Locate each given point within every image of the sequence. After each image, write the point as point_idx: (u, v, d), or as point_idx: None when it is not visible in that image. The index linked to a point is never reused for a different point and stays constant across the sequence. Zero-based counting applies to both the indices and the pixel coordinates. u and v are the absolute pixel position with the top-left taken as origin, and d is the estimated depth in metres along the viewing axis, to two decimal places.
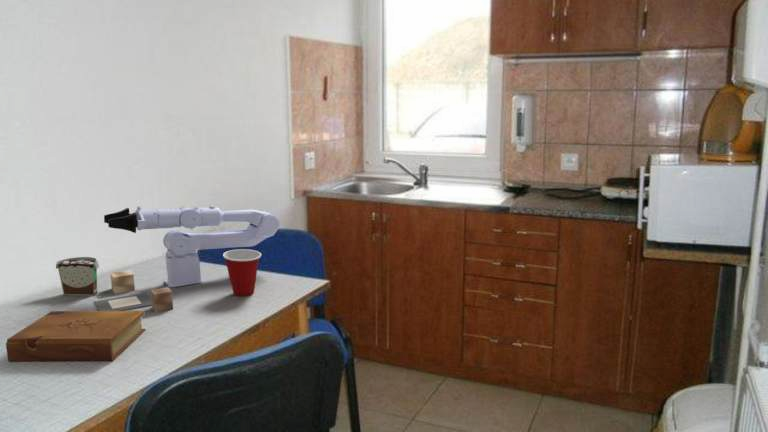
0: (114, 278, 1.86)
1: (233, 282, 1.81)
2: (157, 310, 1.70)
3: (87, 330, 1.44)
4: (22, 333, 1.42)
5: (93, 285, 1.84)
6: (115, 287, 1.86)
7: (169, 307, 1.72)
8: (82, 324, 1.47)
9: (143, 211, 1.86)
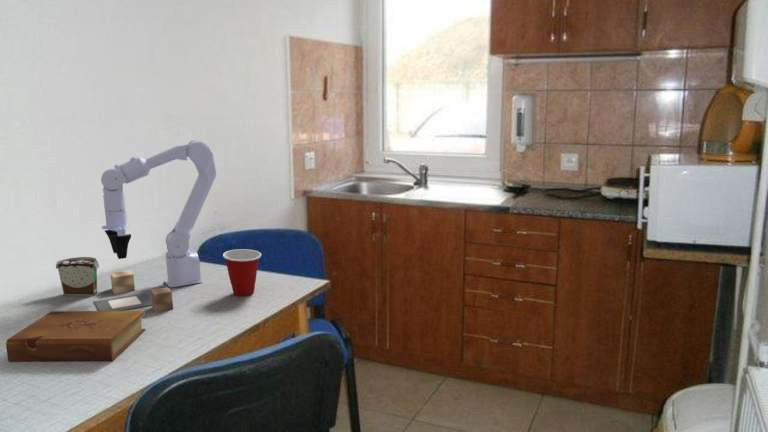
0: (114, 278, 1.86)
1: (233, 282, 1.81)
2: (157, 310, 1.70)
3: (87, 330, 1.44)
4: (22, 333, 1.42)
5: (93, 285, 1.84)
6: (115, 287, 1.86)
7: (169, 307, 1.72)
8: (82, 324, 1.47)
9: (107, 224, 1.84)
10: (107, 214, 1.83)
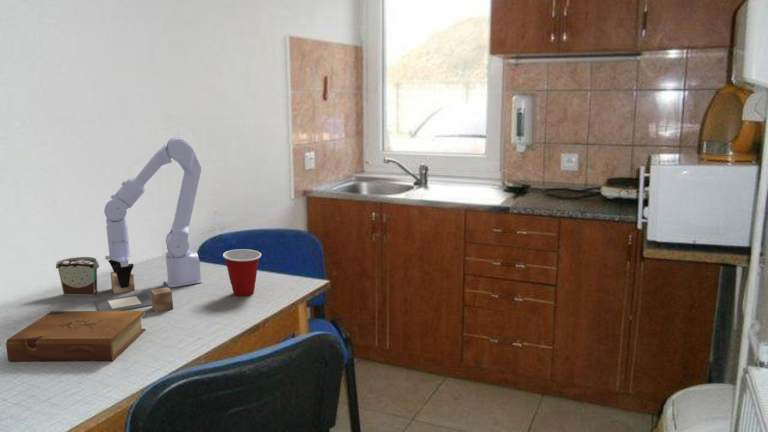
0: (114, 278, 1.86)
1: (233, 282, 1.81)
2: (157, 310, 1.70)
3: (87, 330, 1.44)
4: (22, 333, 1.42)
5: (93, 285, 1.84)
6: (115, 287, 1.86)
7: (169, 307, 1.72)
8: (82, 324, 1.47)
9: (110, 254, 1.86)
10: (110, 245, 1.85)
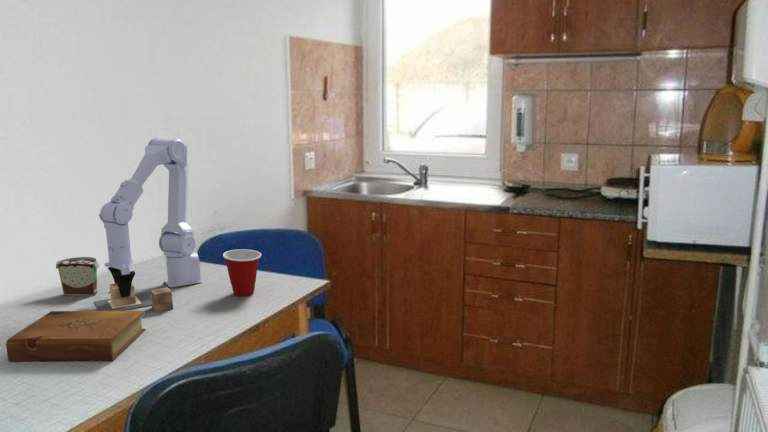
0: (114, 290, 1.73)
1: (233, 282, 1.81)
2: (157, 310, 1.70)
3: (87, 329, 1.44)
4: (22, 333, 1.42)
5: (93, 285, 1.84)
6: (115, 300, 1.73)
7: (169, 307, 1.72)
8: (82, 324, 1.47)
9: (110, 261, 1.73)
10: (110, 251, 1.72)
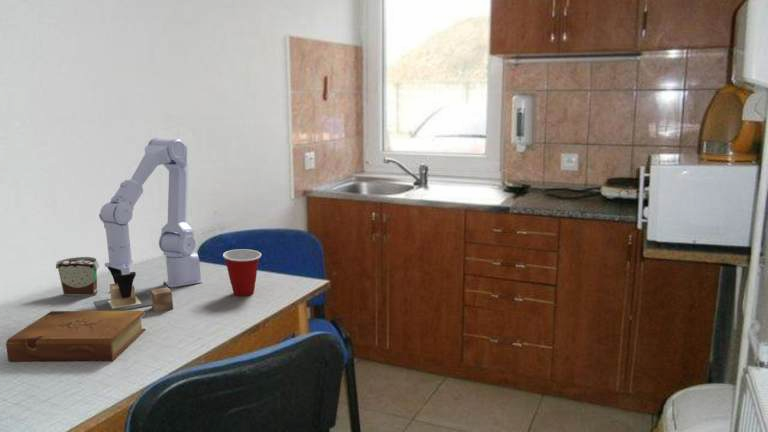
0: (114, 290, 1.73)
1: (233, 282, 1.81)
2: (157, 310, 1.70)
3: (87, 329, 1.44)
4: (22, 333, 1.42)
5: (93, 285, 1.84)
6: (115, 300, 1.73)
7: (169, 307, 1.72)
8: (82, 324, 1.47)
9: (110, 261, 1.73)
10: (110, 251, 1.72)
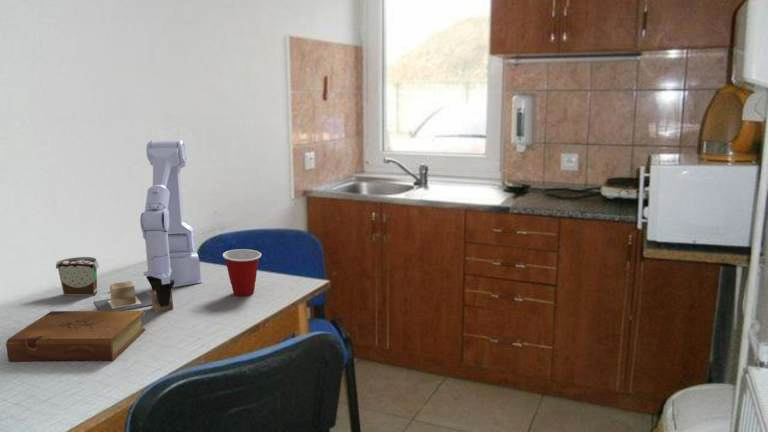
0: (114, 290, 1.73)
1: (233, 282, 1.81)
2: (157, 310, 1.70)
3: (87, 329, 1.44)
4: (22, 333, 1.42)
5: (93, 285, 1.84)
6: (115, 300, 1.73)
7: (169, 307, 1.72)
8: (82, 324, 1.47)
9: (149, 270, 1.68)
10: (149, 259, 1.68)
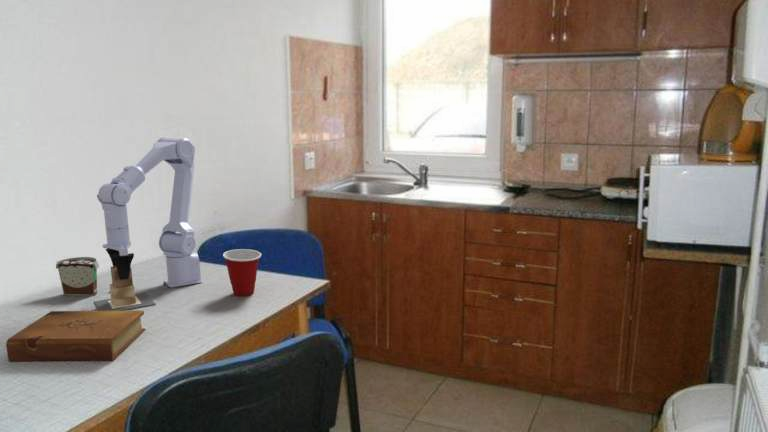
0: (114, 290, 1.73)
1: (233, 282, 1.81)
2: (117, 286, 1.73)
3: (87, 329, 1.44)
4: (22, 333, 1.42)
5: (93, 285, 1.84)
6: (115, 300, 1.73)
7: (129, 283, 1.75)
8: (82, 324, 1.47)
9: (108, 242, 1.72)
10: (108, 232, 1.71)
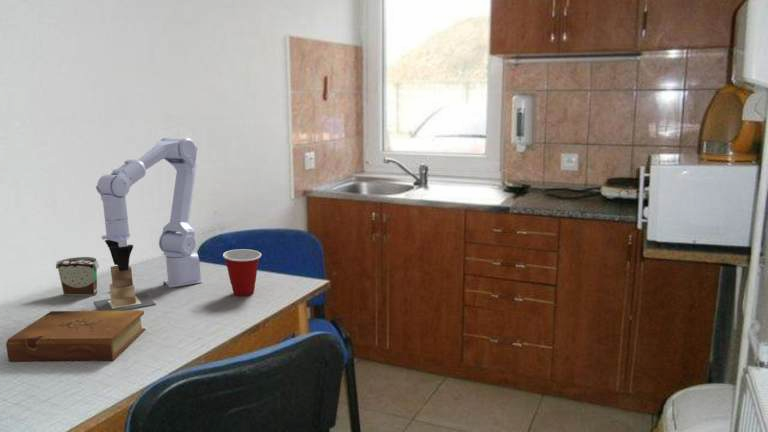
0: (114, 290, 1.73)
1: (233, 282, 1.81)
2: (117, 286, 1.73)
3: (87, 329, 1.44)
4: (22, 333, 1.42)
5: (93, 285, 1.84)
6: (115, 300, 1.73)
7: (129, 283, 1.75)
8: (82, 324, 1.47)
9: (107, 234, 1.71)
10: (107, 223, 1.70)
